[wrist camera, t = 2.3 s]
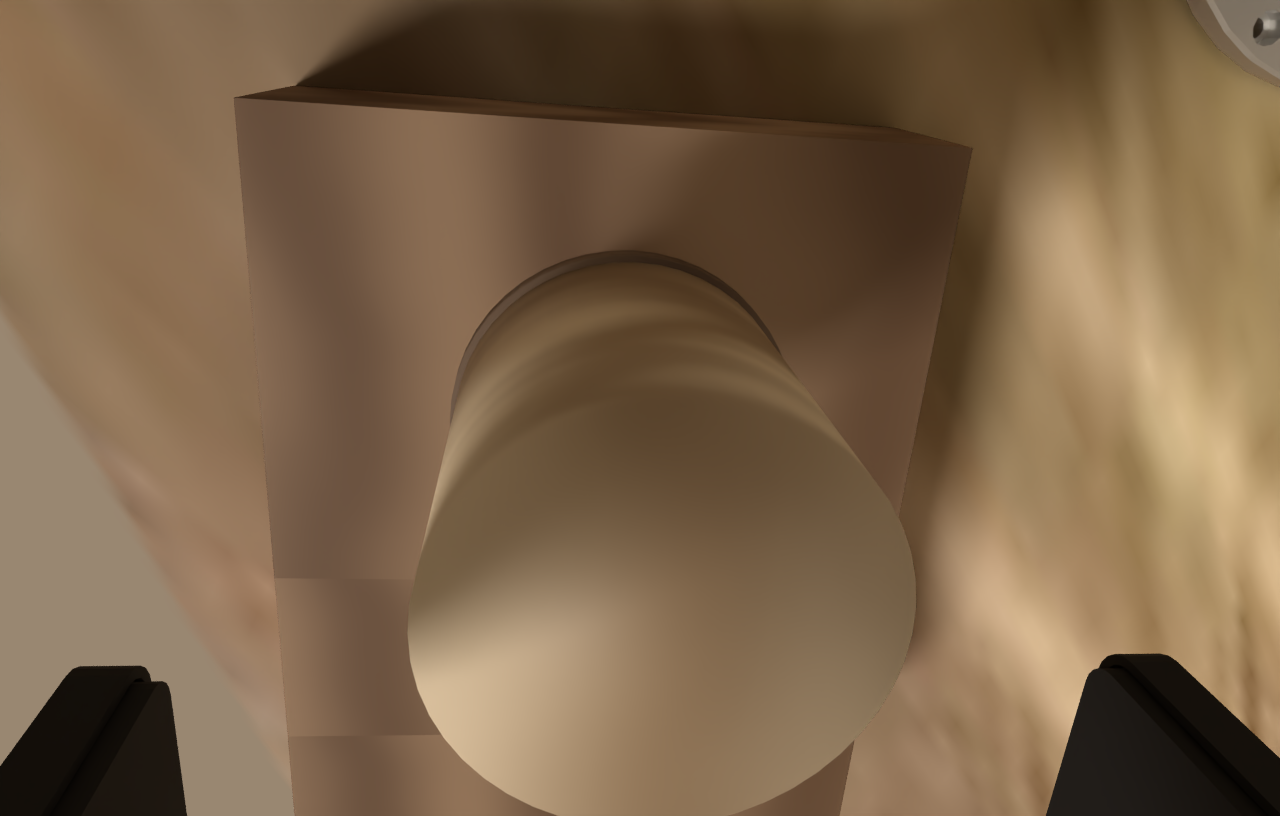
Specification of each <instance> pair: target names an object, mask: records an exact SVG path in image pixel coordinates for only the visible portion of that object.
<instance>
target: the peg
mask: <svg viewBox="0 0 1280 816" xmlns="http://www.w3.org/2000/svg"><path fill="white" fill-rule="evenodd" d="M915 613H916V577H915V571H914V565H913V559H912V553H911V550H910V547H909V544H908V541H907V538H906V535H905V532H904V529H903V526H902V524H901V522H900V520H899V518H898V516H897V514H896V512H895V510H894V508H893V506H892V504H891V503H890V501H889V499H888V498H887V496H886V495H885V494H884V492H883V491H882V490H881V488H880V487H879V486H878V484H877V483H876V482H875V480H874V479H873V477H872V476H871V475H870V473H869V472H868V471H867V469H866V468H865V467H864V465H863V464H862V463H861V461H860V460H859V459H858V457H857V456H856V455H855V453H854V452H853V451H852V449H851V448H850V447H849V445H848V444H847V443H846V441H845V440H844V439H843V437H842V436H841V435H840V433H839V432H838V431H837V429H836V428H835V427H834V425H833V424H832V423H831V421H830V420H829V419H828V417H827V416H826V415H825V413H824V412H823V411H822V409H821V408H820V407H819V405H818V404H817V403H816V401H815V400H814V399H813V397H812V396H811V395H810V393H809V392H808V391H807V389H806V388H805V387H804V385H803V384H802V383H801V381H800V380H799V379H798V377H797V376H796V375H795V373H794V372H793V371H792V369H791V368H790V367H789V365H788V364H787V363H786V361H785V360H784V359H783V357H782V355H781V352H780V350H779V348H778V346H777V344H776V342H775V340H774V338H773V337H772V335H771V333H770V331H769V330H768V328H767V327H766V326H765V324H764V323H763V322H762V320H761V319H760V317H759V316H758V315H757V313H756V312H755V311H754V310H753V308H752V307H751V306H750V305H749V304H748V303H747V302H746V301H745V300H744V299H743V298H742V297H741V296H740V295H739V294H738V293H737V292H736V291H735V290H734V289H733V288H731V287H730V286H729V285H727V284H726V283H725V282H723V281H722V280H721V279H720V278H718V277H716V276H715V275H713V274H711V273H709V272H708V271H706V270H704V269H702V268H700V267H698V266H696V265H693V264H691V263H688V262H686V261H683V260H681V259H678V258H674V257H670V256H666V255H663V254H659V253H652V252H644V251H635V250H619V251H604V252H597V253H590V254H585V255H582V256H578V257H575V258H571V259H567V260H564V261H562V262H559V263H557V264H555V265H552V266H550V267H548V268H545V269H543V270H541V271H540V272H538V273H536V274H535V275H533V276H531V277H529V278H528V279H526V280H524V281H523V282H522V283H520V284H519V285H518V286H516V287H515V288H514V289H513V290H511V291H510V292H509V293H508V294H506V295H505V296H504V297H503V298H502V299H501V300H500V301H499V302H498V303H497V304H496V305H495V306H494V307H493V308H492V309H491V310H490V311H489V313H488V314H487V315H486V317H485V318H484V320H483V321H482V322H481V324H480V325H479V326H478V328H477V329H476V331H475V333H474V334H473V336H472V338H471V340H470V342H469V344H468V346H467V347H466V349H465V352H464V355H463V357H462V360H461V363H460V366H459V368H458V372H457V376H456V380H455V385H454V389H453V394H452V399H451V411H450V430H449V435H448V439H447V443H446V447H445V452H444V456H443V460H442V464H441V469H440V473H439V477H438V482H437V486H436V490H435V494H434V499H433V503H432V507H431V511H430V516H429V520H428V524H427V528H426V533H425V537H424V541H423V545H422V550H421V554H420V558H419V562H418V567H417V571H416V575H415V580H414V584H413V589H412V594H411V598H410V603H409V615H408V633H407V634H408V644H409V654H410V663H411V667H412V670H413V674H414V678H415V681H416V685H417V689H418V691H419V694H420V696H421V698H422V700H423V703H424V705H425V707H426V709H427V712H428V714H429V716H430V717H431V719H432V720H433V722H434V724H435V725H436V727H437V728H438V730H439V731H440V733H441V734H442V736H443V738H444V739H445V740H446V741H447V742H448V744H449V745H450V746H451V747H452V748H453V749H454V750H455V752H456V753H457V754H458V755H459V756H460V757H461V759H462V760H463V761H465V762H466V763H467V764H468V765H469V766H470V767H472V768H473V769H474V770H475V771H476V772H477V773H478V774H480V775H481V776H482V777H483V778H484V779H486V780H487V781H489V782H490V783H492V784H493V785H495V786H496V787H498V788H499V789H501V790H502V791H504V792H505V793H507V794H509V795H511V796H513V797H515V798H517V799H519V800H521V801H523V802H525V803H527V804H529V805H531V806H533V807H535V808H538V809H541V810H543V811H546V812H549V813H552V814H555V815H557V816H728V815H732V814H735V813H739V812H741V811H744V810H746V809H749V808H752V807H754V806H757V805H759V804H762V803H765V802H767V801H769V800H771V799H773V798H775V797H777V796H779V795H781V794H783V793H785V792H787V791H789V790H791V789H792V788H794V787H796V786H797V785H799V784H800V783H802V782H803V781H805V780H806V779H808V778H810V777H811V776H813V775H814V774H816V773H817V772H819V771H820V770H821V769H822V768H824V767H825V766H826V765H827V764H829V763H830V762H831V761H832V760H834V759H835V758H836V757H837V756H839V755H840V754H841V753H842V752H843V751H844V750H845V749H846V748H847V747H848V746H849V745H850V744H851V743H852V742H853V741H854V740H855V739H856V738H857V737H858V736H859V735H860V734H861V733H862V731H863V730H864V729H865V728H866V726H867V725H868V724H869V723H870V721H871V720H872V719H873V718H874V716H875V715H876V714H877V712H878V711H879V710H880V708H881V706H882V705H883V703H884V701H885V700H886V698H887V696H888V695H889V693H890V692H891V690H892V688H893V686H894V684H895V682H896V680H897V677H898V675H899V673H900V671H901V668H902V666H903V664H904V662H905V658H906V655H907V652H908V648H909V645H910V641H911V638H912V634H913V627H914V620H915Z"/></svg>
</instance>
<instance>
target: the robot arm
mask: <svg viewBox="0 0 1280 816" xmlns="http://www.w3.org/2000/svg"><path fill="white" fill-rule="evenodd" d="M1187 3H1188V5H1189V7H1190V9H1191V12H1192V14H1193V16H1194V17H1195V19H1196V20H1197V21H1198V23H1199V24H1200V25H1201V27H1202V28H1203V29H1204V31H1205V32H1206V34H1207V35H1208V36H1209V38H1210V39H1211V40H1212V42H1213V43H1214V44H1215V46H1216V47H1217V48H1218V49H1219V50H1220V51H1222V52H1223V53H1224V54H1225V55H1226V56H1228V57H1229V58H1230V59H1231V60H1233V61H1234V62H1235V63H1236V64H1237V65H1239V66H1240V67H1241V68H1242V69H1243V70H1245V71H1246V72H1248V73H1250V74H1252V75H1254V76H1256V77H1258V78H1261V79H1263V80H1265V81H1267V82H1269V83H1271V84H1273V85H1275V86H1278V87H1280V0H1187ZM0 816H187V813H186V805H185V798H184V790H183V783H182V776H181V768H180V760H179V753H178V746H177V738H176V731H175V724H174V716H173V708H172V701H171V694H170V690H169V687H168V685H167V683H165V682H163V681H159V682H158V681H157V682H151V678H150V674H149V673H148V671H147V669H146V668H145V667H142V666H80V667H77V668H74V669H72V670H71V672H69V674H68V675H67V676H66V677H65V678H64V679H63V681H62V682H61V684H60V685H59V686H58V688H57V689H56V690H55V692H54V693H53V695H52V696H51V697H50V699H49V700H48V701H47V703H46V705H45V706H44V707H43V708H42V710H41V711H40V712H39V714H38V715H37V717H36V718H35V719H34V721H33V722H32V723H31V725H30V726H29V728H28V729H27V730H26V732H25V733H24V734H23V736H22V737H21V738H20V740H19V741H18V743H17V744H16V745H15V747H14V748H13V750H12V751H11V752H10V754H9V755H8V756H7V758H6V759H5V760H4V762H3V763H2V765H1V766H0ZM1046 816H1280V758H1279V757H1278V756H1277V755H1276V754H1275V753H1274V752H1273V751H1272V750H1270V749H1269V748H1268V747H1267V746H1266V745H1265V744H1264V743H1263V742H1262V741H1261V740H1260V739H1259V738H1258V737H1257V736H1256V735H1255V734H1253V733H1252V732H1251V731H1250V730H1249V729H1248V728H1247V727H1246V726H1245V725H1244V724H1243V723H1242V722H1241V721H1240V720H1239V719H1238V718H1236V717H1235V716H1234V715H1233V714H1232V713H1231V712H1230V711H1229V710H1228V709H1227V708H1226V707H1225V706H1224V705H1223V704H1222V703H1221V702H1219V701H1218V700H1217V699H1216V698H1215V697H1214V696H1213V695H1212V694H1211V693H1210V692H1209V691H1208V690H1207V689H1206V688H1205V687H1204V686H1203V685H1201V684H1200V683H1199V682H1198V681H1197V680H1196V679H1195V678H1194V677H1193V676H1192V675H1191V674H1190V673H1189V672H1188V671H1187V670H1186V669H1184V668H1183V667H1182V666H1181V665H1180V664H1179V663H1178V662H1177V661H1176V660H1174V659H1173V658H1171V657H1170V656H1168V655H1163V654H1114V655H1110V656H1107V657H1106V658H1105V659H1104V660H1103V661H1102V662H1101V664H1100V666H1099V668H1098V669H1094V670H1093V671H1092V672H1090V673H1089V675H1088V677H1087V679H1086V682H1085V686H1084V689H1083V692H1082V696H1081V699H1080V702H1079V706H1078V709H1077V713H1076V716H1075V719H1074V723H1073V726H1072V729H1071V733H1070V736H1069V740H1068V743H1067V746H1066V750H1065V753H1064V756H1063V760H1062V763H1061V767H1060V770H1059V773H1058V777H1057V780H1056V783H1055V787H1054V790H1053V794H1052V797H1051V800H1050V804H1049V807H1048V810H1047V814H1046Z"/></svg>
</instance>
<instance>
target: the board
mask: <svg viewBox="0 0 1280 816" xmlns="http://www.w3.org/2000/svg"><path fill="white" fill-rule="evenodd" d="M234 105H235V117H236V129H237V141H238V153H239V165H240V176H241V188H242V200H243V212H244V224H245V235H246V247H247V259H248V271H249V283H250V295H251V306H252V318H253V330H254V342H255V354H256V365H257V377H258V389H259V401H260V413H261V424H262V436H263V448H264V460H265V472H266V484H267V495H268V507H269V519H270V531H271V543H272V554H273V566H274V578H275V590H276V602H277V614H278V625H279V637H280V649H281V661H282V673H283V684H284V696H285V708H286V720H287V732H288V743H289V755H290V767H291V779H292V791H293V803H294V813H295V816H557V815H555V814H552V813H549V812H546V811H543V810H541V809H538V808H535V807H533V806H531V805H529V804H527V803H525V802H523V801H521V800H519V799H517V798H515V797H513V796H511V795H509V794H507V793H505V792H504V791H502V790H501V789H499V788H498V787H496V786H495V785H493V784H492V783H490V782H489V781H487V780H486V779H484V778H483V777H482V776H481V775H480V774H478V773H477V772H476V771H475V770H474V769H473V768H472V767H470V766H469V765H468V764H467V763H466V762H465V761H463V760H462V759H461V757H460V756H459V755H458V754H457V753H456V752H455V750H454V749H453V748H452V747H451V746H450V745H449V744H448V742H447V741H446V740H445V739H444V738H443V736H442V734H441V733H440V731H439V730H438V728H437V727H436V725H435V724H434V722H433V720H432V719H431V717H430V716H429V714H428V712H427V709H426V707H425V705H424V703H423V700H422V698H421V696H420V694H419V691H418V689H417V685H416V681H415V678H414V674H413V670H412V667H411V663H410V654H409V644H408V634H407V633H408V615H409V603H410V598H411V594H412V589H413V584H414V580H415V575H416V571H417V567H418V562H419V558H420V554H421V550H422V545H423V541H424V537H425V533H426V528H427V524H428V520H429V516H430V511H431V507H432V503H433V499H434V494H435V490H436V486H437V482H438V477H439V473H440V469H441V464H442V460H443V456H444V452H445V447H446V443H447V439H448V435H449V430H450V411H451V399H452V394H453V389H454V385H455V380H456V376H457V372H458V368H459V366H460V363H461V360H462V357H463V355H464V352H465V349H466V347H467V346H468V344H469V342H470V340H471V338H472V336H473V334H474V333H475V331H476V329H477V328H478V326H479V325H480V324H481V322H482V321H483V320H484V318H485V317H486V315H487V314H488V313H489V311H490V310H491V309H492V308H493V307H494V306H495V305H496V304H497V303H498V302H499V301H500V300H501V299H502V298H503V297H504V296H505V295H506V294H508V293H509V292H510V291H511V290H513V289H514V288H515V287H516V286H518V285H519V284H520V283H522V282H523V281H524V280H526V279H528V278H529V277H531V276H533V275H535V274H536V273H538V272H540V271H541V270H543V269H545V268H548V267H550V266H552V265H555V264H557V263H559V262H562V261H564V260H567V259H571V258H575V257H578V256H582V255H585V254H590V253H597V252H604V251H619V250H635V251H644V252H652V253H659V254H663V255H666V256H670V257H674V258H678V259H681V260H683V261H686V262H688V263H691V264H693V265H696V266H698V267H700V268H702V269H704V270H706V271H708V272H709V273H711V274H713V275H715V276H716V277H718V278H720V279H721V280H722V281H723V282H725V283H726V284H727V285H729V286H730V287H731V288H733V289H734V290H735V291H736V292H737V293H738V294H739V295H740V296H741V297H742V298H743V299H744V300H745V301H746V302H747V303H748V304H749V305H750V306H751V307H752V308H753V310H754V311H755V312H756V313H757V315H758V316H759V317H760V319H761V320H762V322H763V323H764V324H765V326H766V327H767V328H768V330H769V331H770V333H771V335H772V337H773V338H774V340H775V342H776V344H777V346H778V348H779V350H780V352H781V355H782V357H783V359H784V360H785V361H786V363H787V364H788V365H789V367H790V368H791V369H792V371H793V372H794V373H795V375H796V376H797V377H798V379H799V380H800V381H801V383H802V384H803V385H804V387H805V388H806V389H807V391H808V392H809V393H810V395H811V396H812V397H813V399H814V400H815V401H816V403H817V404H818V405H819V407H820V408H821V409H822V411H823V412H824V413H825V415H826V416H827V417H828V419H829V420H830V421H831V423H832V424H833V425H834V427H835V428H836V429H837V431H838V432H839V433H840V435H841V436H842V437H843V439H844V440H845V441H846V443H847V444H848V445H849V447H850V448H851V449H852V451H853V452H854V453H855V455H856V456H857V457H858V459H859V460H860V461H861V463H862V464H863V465H864V467H865V468H866V469H867V471H868V472H869V473H870V475H871V476H872V477H873V479H874V480H875V482H876V483H877V484H878V486H879V487H880V488H881V490H882V491H883V492H884V494H885V495H886V496H887V498H888V499H889V501H890V503H891V504H892V506H893V508H894V510H895V512H896V514H897V516H898V518H899V514H900V509H901V504H902V499H903V494H904V489H905V484H906V479H907V474H908V469H909V464H910V459H911V454H912V449H913V444H914V439H915V434H916V429H917V424H918V419H919V414H920V409H921V404H922V399H923V394H924V389H925V384H926V379H927V374H928V369H929V364H930V359H931V354H932V349H933V344H934V339H935V334H936V329H937V324H938V319H939V314H940V309H941V304H942V299H943V294H944V289H945V284H946V279H947V274H948V269H949V264H950V259H951V254H952V249H953V244H954V239H955V234H956V229H957V224H958V219H959V214H960V209H961V204H962V199H963V194H964V189H965V183H966V178H967V173H968V168H969V163H970V158H971V153H972V148H970V147H966V146H963V145H959V144H955V143H951V142H947V141H943V140H939V139H936V138H932V137H928V136H924V135H920V134H916V133H912V132H909V131H905V130H901V129H897V128H890V127H875V126H861V125H847V124H833V123H818V122H804V121H790V120H776V119H761V118H747V117H733V116H719V115H704V114H690V113H676V112H662V111H647V110H633V109H619V108H605V107H590V106H576V105H562V104H548V103H533V102H519V101H505V100H491V99H477V98H462V97H448V96H434V95H420V94H405V93H391V92H377V91H363V90H348V89H334V88H320V87H306V86H290V87H285V88H280V89H275V90H270V91H265V92H260V93H255V94H250V95H245V96H240V97H235V98H234ZM853 745H854V741H853V742H852V743H851V744H850V745H849V746H848V747H847V748H846V749H845V750H844V751H843V752H842V753H841V754H840V755H839V756H837V757H836V758H835V759H834V760H832V761H831V762H830V763H829V764H827V765H826V766H825V767H824V768H822V769H821V770H820V771H819V772H817V773H816V774H814V775H813V776H811V777H810V778H808V779H806V780H805V781H803V782H802V783H800V784H799V785H797V786H796V787H794V788H792V789H791V790H789V791H787V792H785V793H783V794H781V795H779V796H777V797H775V798H773V799H771V800H769V801H767V802H765V803H762V804H759V805H757V806H754V807H752V808H749V809H746V810H744V811H741V812H739V813H735V814H732V815H728V816H839V815H840V810H841V805H842V800H843V795H844V790H845V785H846V780H847V775H848V770H849V765H850V760H851V755H852V750H853Z"/></svg>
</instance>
